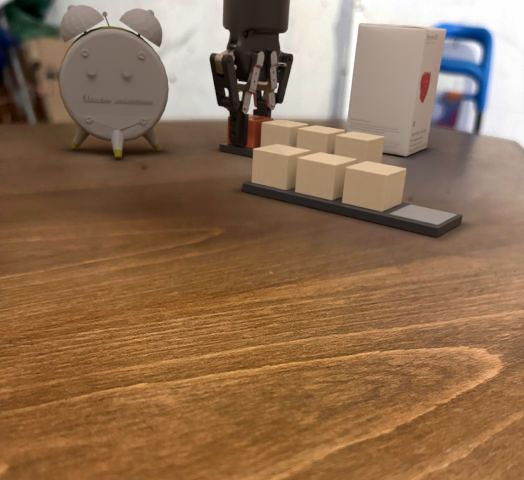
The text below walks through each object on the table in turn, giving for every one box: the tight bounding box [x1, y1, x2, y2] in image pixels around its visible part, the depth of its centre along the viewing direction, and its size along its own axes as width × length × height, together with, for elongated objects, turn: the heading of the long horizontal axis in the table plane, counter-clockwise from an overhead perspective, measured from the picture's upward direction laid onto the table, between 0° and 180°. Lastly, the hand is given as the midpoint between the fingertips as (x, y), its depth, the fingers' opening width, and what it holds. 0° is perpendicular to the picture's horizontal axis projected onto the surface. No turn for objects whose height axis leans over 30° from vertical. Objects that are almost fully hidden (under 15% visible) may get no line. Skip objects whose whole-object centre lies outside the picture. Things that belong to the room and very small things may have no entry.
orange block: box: [226, 113, 274, 149], centre depth 81 cm, size 4×4×3 cm
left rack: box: [219, 119, 385, 164], centre depth 78 cm, size 6×20×4 cm, turn 55°
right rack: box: [241, 144, 464, 238], centre depth 61 cm, size 6×20×4 cm, turn 55°
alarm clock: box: [58, 4, 170, 160], centre depth 73 cm, size 12×7×15 cm, turn 102°
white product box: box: [345, 22, 447, 157], centre depth 87 cm, size 9×9×15 cm
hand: (249, 142), depth 82 cm, fingers closed on orange block, 4 cm apart
